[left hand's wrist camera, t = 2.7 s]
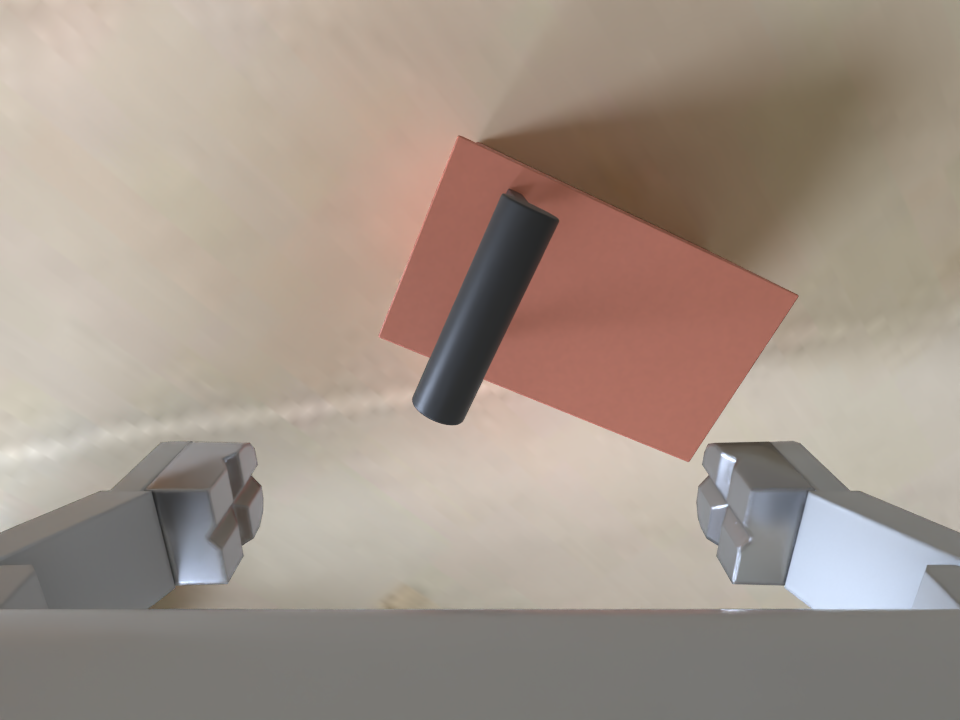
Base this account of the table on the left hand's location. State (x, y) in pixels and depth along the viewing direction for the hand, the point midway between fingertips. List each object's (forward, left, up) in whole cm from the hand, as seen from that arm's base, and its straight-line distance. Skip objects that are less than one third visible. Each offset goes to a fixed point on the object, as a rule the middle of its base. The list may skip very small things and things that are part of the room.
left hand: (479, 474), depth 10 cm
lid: (+2, -5, -18) cm, 19 cm away
